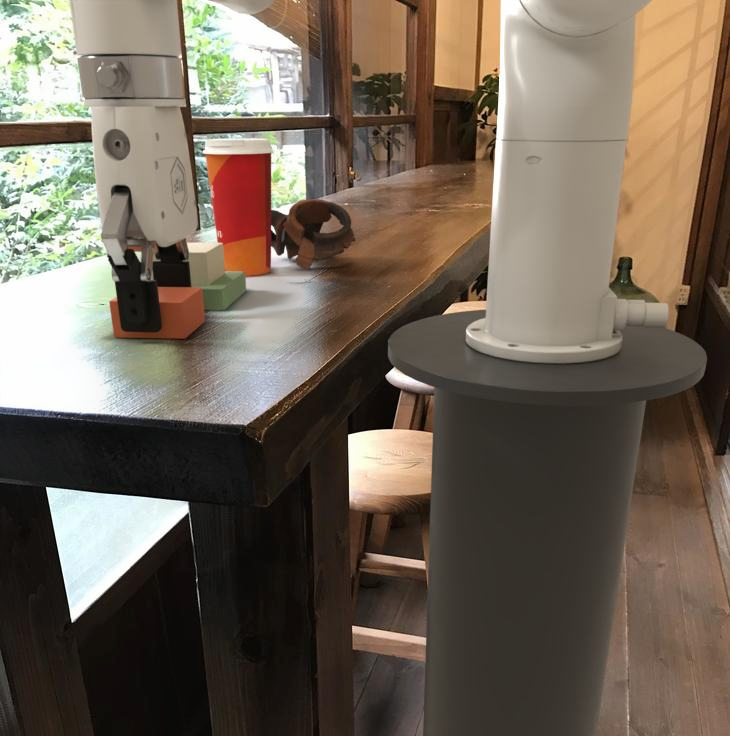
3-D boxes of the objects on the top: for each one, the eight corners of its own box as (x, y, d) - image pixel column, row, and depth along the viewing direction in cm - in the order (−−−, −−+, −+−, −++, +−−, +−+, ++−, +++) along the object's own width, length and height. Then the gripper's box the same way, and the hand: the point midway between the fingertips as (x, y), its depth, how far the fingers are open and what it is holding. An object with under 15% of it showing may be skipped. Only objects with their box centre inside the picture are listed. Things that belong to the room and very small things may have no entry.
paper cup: (240, 263, 97) (231, 137, 91) (293, 269, 94) (287, 138, 88) (197, 274, 91) (185, 139, 85) (252, 280, 88) (243, 140, 82)
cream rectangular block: (225, 273, 81) (222, 242, 80) (209, 285, 76) (206, 252, 74) (167, 273, 81) (163, 242, 80) (147, 284, 76) (143, 251, 75)
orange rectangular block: (205, 321, 71) (202, 287, 70) (185, 339, 65) (181, 302, 64) (139, 320, 71) (135, 286, 70) (113, 337, 66) (108, 301, 65)
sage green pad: (246, 291, 83) (245, 271, 82) (224, 310, 75) (222, 288, 74) (161, 289, 84) (159, 270, 83) (130, 309, 76) (127, 287, 75)
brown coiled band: (353, 259, 102) (365, 204, 96) (337, 307, 97) (348, 251, 90) (262, 233, 102) (267, 176, 95) (240, 279, 96) (244, 221, 90)
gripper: (141, 82, 52) (170, 347, 60) (213, 88, 68) (228, 297, 75) (31, 83, 53) (72, 345, 60) (127, 89, 69) (151, 296, 76)
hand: (159, 317), depth 68 cm, fingers open, 7 cm apart
